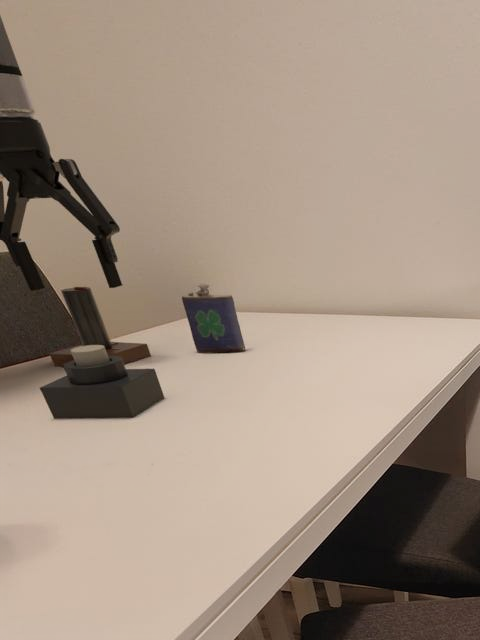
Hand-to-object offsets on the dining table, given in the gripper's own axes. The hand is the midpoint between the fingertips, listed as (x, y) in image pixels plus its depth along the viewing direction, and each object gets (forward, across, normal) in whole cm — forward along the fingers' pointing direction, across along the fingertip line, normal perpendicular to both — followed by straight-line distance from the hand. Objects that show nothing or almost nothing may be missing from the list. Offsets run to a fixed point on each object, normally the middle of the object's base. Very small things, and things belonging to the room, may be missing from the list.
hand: (76, 288), depth 97 cm
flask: (+12, -19, -6) cm, 23 cm away
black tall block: (+9, 0, 0) cm, 9 cm away
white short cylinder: (+6, -17, +28) cm, 33 cm away
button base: (+11, -17, +28) cm, 35 cm away
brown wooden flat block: (+11, 0, 0) cm, 11 cm away
